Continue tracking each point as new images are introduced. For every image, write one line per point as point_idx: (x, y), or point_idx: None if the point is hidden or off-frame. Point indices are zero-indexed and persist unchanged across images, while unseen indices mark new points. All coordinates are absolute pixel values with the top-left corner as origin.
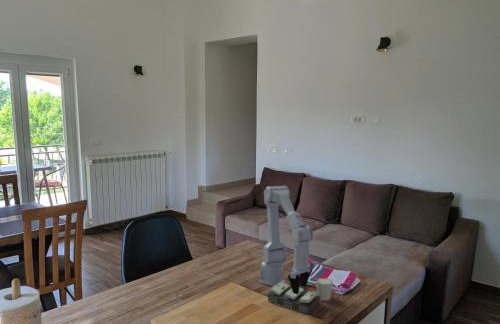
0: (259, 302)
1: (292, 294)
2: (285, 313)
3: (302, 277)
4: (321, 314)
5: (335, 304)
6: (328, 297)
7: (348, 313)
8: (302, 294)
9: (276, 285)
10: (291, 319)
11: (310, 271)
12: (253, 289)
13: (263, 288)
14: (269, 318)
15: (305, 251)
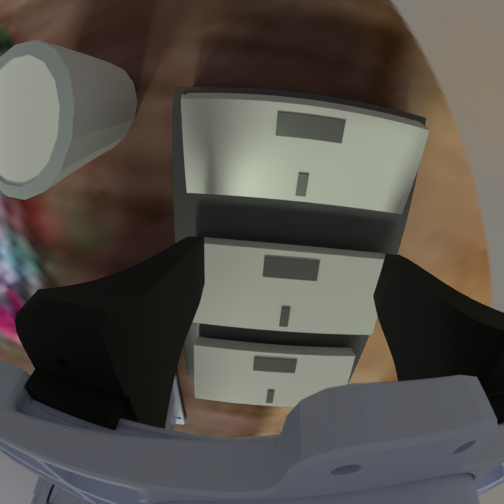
0: (364, 374)
1: (356, 288)
2: (434, 244)
3: (175, 336)
4: (349, 34)
5: (146, 3)
6: (105, 61)
7: None
8: (235, 226)
9: (281, 402)
10: (477, 196)
11: (103, 328)
12: (257, 420)
13: (222, 401)
14: (485, 288)
15: None
